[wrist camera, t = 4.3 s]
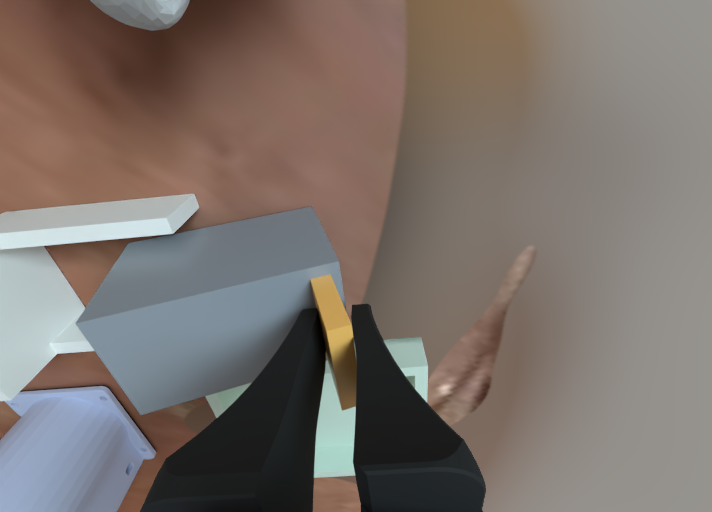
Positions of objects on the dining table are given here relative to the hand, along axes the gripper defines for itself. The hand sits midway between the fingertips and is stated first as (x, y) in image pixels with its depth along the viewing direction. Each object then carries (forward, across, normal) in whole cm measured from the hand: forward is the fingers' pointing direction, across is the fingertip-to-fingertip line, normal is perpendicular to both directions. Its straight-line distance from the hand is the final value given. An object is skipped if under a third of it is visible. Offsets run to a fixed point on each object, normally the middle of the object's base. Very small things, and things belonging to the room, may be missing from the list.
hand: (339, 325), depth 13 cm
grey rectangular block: (+5, +6, 0) cm, 8 cm away
